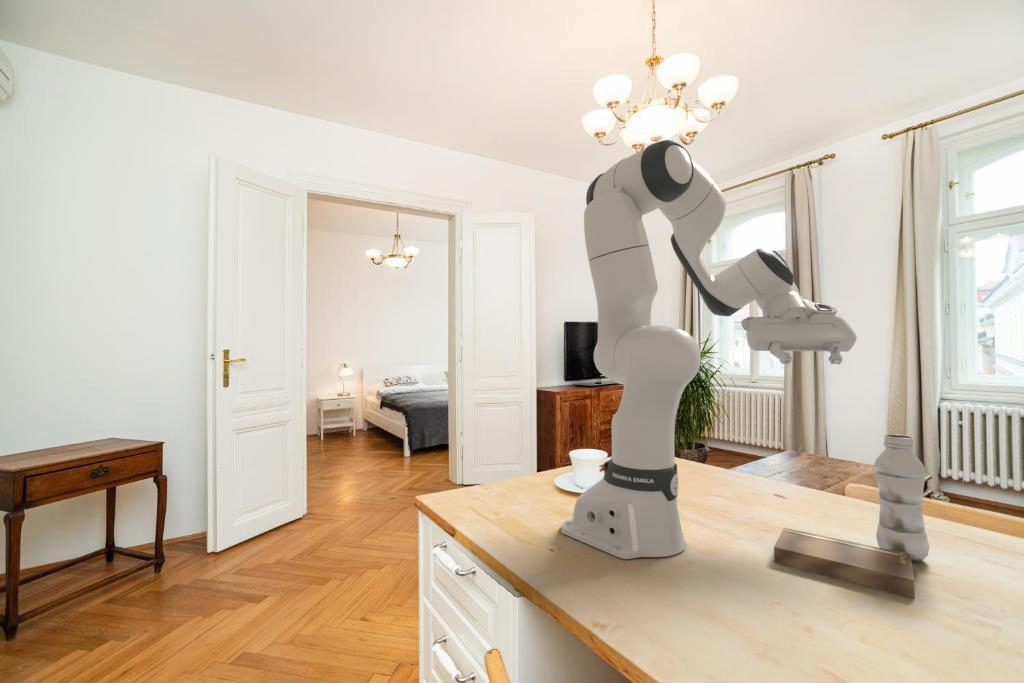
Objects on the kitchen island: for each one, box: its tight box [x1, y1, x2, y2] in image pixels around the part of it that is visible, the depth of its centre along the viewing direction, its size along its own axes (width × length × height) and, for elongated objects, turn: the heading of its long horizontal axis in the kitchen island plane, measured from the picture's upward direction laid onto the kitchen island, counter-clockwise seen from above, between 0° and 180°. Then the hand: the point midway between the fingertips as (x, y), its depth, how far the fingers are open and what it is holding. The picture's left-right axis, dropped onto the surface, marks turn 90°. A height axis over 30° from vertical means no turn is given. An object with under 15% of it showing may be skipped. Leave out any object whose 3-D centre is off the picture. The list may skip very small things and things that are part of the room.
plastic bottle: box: [873, 433, 930, 562], centre depth 74 cm, size 6×7×20 cm
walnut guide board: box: [773, 527, 916, 599], centre depth 71 cm, size 17×10×3 cm, turn 51°
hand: (811, 362), depth 90 cm, fingers open, 8 cm apart
